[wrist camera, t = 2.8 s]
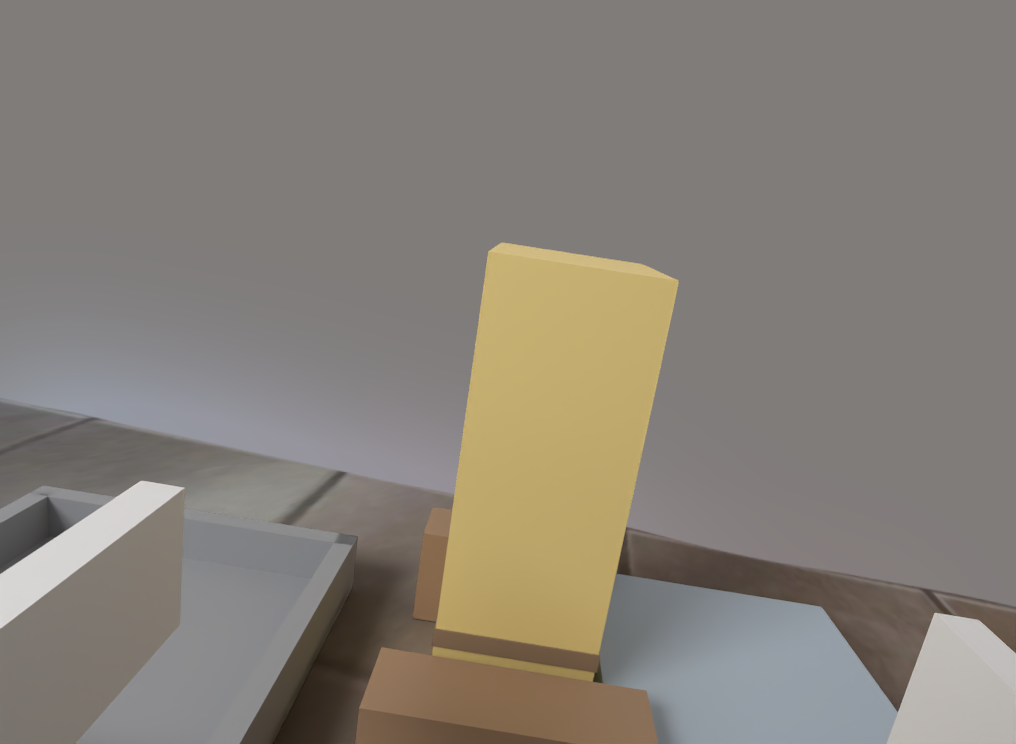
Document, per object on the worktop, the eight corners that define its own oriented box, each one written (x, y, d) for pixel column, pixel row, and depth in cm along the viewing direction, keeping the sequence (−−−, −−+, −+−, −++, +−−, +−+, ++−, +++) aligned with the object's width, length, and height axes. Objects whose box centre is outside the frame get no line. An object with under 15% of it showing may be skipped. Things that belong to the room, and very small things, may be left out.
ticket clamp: (790, 645, 29) (813, 568, 28) (956, 929, 17) (1006, 814, 16) (422, 585, 29) (433, 507, 28) (346, 827, 17) (359, 707, 16)
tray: (352, 586, 28) (357, 536, 27) (200, 887, 15) (203, 807, 15) (45, 536, 28) (43, 485, 28) (-354, 794, 16) (-373, 710, 15)
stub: (566, 650, 26) (643, 264, 22) (573, 778, 20) (681, 281, 16) (444, 631, 26) (500, 242, 22) (416, 752, 20) (486, 251, 16)
